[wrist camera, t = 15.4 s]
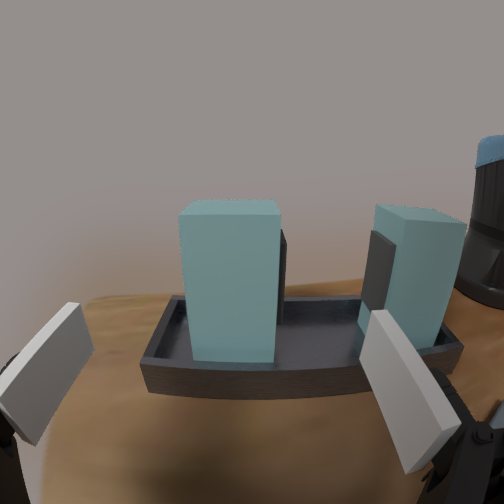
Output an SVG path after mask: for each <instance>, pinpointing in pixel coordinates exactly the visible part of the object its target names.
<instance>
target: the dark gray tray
mask: <svg viewBox="0 0 504 504" xmlns="http://www.w3.org/2000/svg"><path fill="white" fill-rule="evenodd" d="M361 302H362V299H361V295H350V296H314V297H284V305H283V319H282V325H276V334H275V350H274V362H215V361H196V360H194V359H193V353H192V346H191V339H190V332H189V324H188V316H187V308H186V299H185V296H179V295H172V297H171V299H170V301H169V303H168V305H167V307H166V309H165V311H164V313H163V315H162V317H161V319H160V321H159V323H158V325H157V327H156V329H155V331H154V333H153V336H152V338H151V340H150V342H149V344H148V346H147V348H146V350H145V352H144V355H143V357H142V359H141V361H140V363H139V364H140V367H141V371H142V374H143V377H144V380H145V383H146V386H147V389H148V392H150V393H158V394H166V395H175V396H186V397H198V398H214V399H244V400H265V399H296V398H312V397H324V396H334V395H343V394H352V393H359V392H366V391H373V390H372V387H371V385H370V383H369V380H368V378H367V376H366V373H365V371H364V369H363V367H362V364H361V362H360V360H359V358H360V354H361V351H362V347H363V343H364V340H365V335H364V333H363V331H362V329H361V328H360V326H359V324H358V322H357V321H358V317H359V312H360V307H361ZM463 348H464V346H463V344H462V343H461V342H460V341H459V340H458V339H457V338H456V336H455V335H454V334H453V333H452V332H451V331H450V330H449V329H448V327H447V326H446V325H445V324H444V323H443V322H442V324H441V326H440V329H439V332H438V334H437V337H436V340H435V342H434V345H433V347H427V348H422V349H416V351H417V353H418V354H419V356H420V357H421V359H422V360H423V362H424V363H425V365H426V366H427V368H428V369H431V368H435V367H436V368H437V369H438V370H440V371H441V372H442V373H444V374H445V375H448V374H451V373H452V371H453V369H454V367H455V365H456V363H457V361H458V359H459V357H460V355H461V353H462V351H463Z"/></svg>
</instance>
